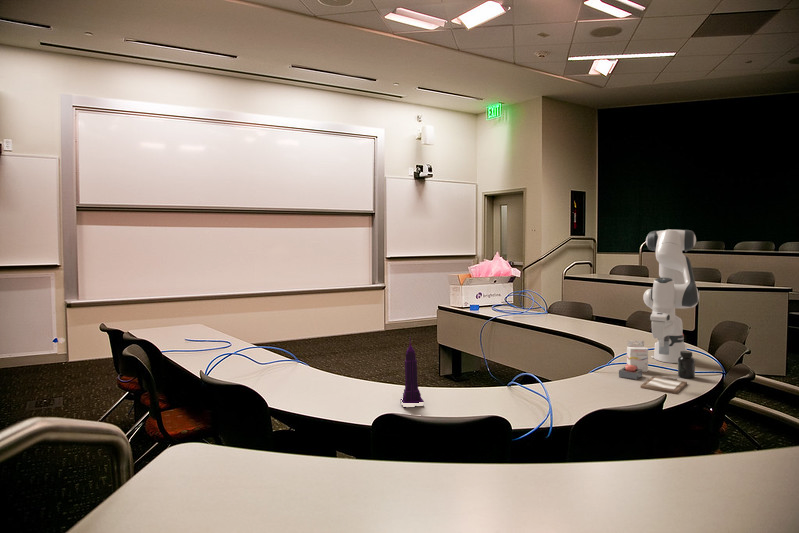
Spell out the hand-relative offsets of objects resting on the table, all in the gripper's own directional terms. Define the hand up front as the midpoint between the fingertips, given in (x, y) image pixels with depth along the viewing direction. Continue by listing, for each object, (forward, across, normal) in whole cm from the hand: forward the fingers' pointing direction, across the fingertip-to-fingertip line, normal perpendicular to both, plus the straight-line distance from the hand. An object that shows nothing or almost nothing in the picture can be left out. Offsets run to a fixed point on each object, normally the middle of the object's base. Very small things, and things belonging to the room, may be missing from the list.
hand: (663, 345), depth 210 cm
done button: (+16, -6, -16) cm, 23 cm away
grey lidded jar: (+4, 0, 0) cm, 4 cm away
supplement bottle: (+18, -21, +4) cm, 28 cm away
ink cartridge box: (+18, -19, -17) cm, 32 cm away
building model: (+19, +89, -71) cm, 115 cm away
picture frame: (+18, 0, 0) cm, 18 cm away
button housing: (+18, -6, -16) cm, 25 cm away
